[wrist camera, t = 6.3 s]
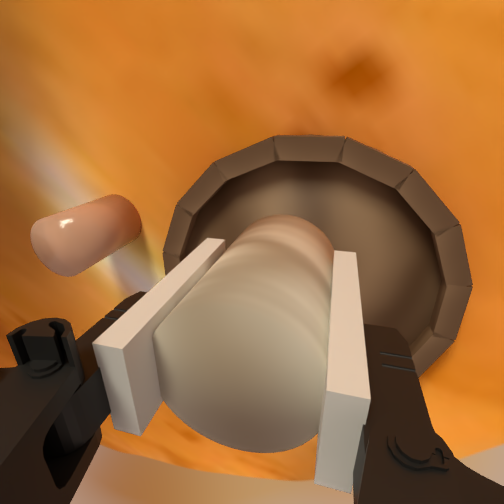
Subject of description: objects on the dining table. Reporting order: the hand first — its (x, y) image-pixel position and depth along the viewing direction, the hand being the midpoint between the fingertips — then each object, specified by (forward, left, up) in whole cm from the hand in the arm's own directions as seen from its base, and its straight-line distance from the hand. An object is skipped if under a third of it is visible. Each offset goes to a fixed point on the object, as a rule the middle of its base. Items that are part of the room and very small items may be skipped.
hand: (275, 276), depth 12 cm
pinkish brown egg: (-17, -3, -13) cm, 21 cm away
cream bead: (0, 0, -2) cm, 2 cm away
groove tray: (0, -7, -13) cm, 14 cm away
